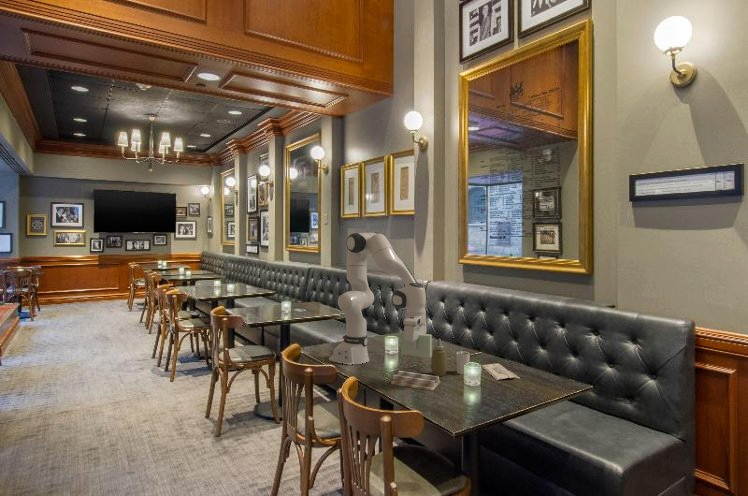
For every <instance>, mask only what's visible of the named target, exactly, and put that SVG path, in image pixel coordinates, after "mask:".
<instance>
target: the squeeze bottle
mask: <svg viewBox="0 0 748 496" xmlns="http://www.w3.org/2000/svg"><path fill="white" fill-rule="evenodd" d="M430 368H431V372H432V374H433V375H432V376H439V377H444V376H445V375H446V372H447V371H448V361H447V351H446V350H445V346H444V345H443V344H442V340H441V338H438V339H437V343H436V344H435V345H434V349H432V356H431V364H430Z"/></svg>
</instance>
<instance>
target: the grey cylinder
mask: <svg viewBox="0 0 748 496" xmlns="http://www.w3.org/2000/svg"><path fill="white" fill-rule="evenodd" d="M470 357H471V356H470V352H468V351H456V354H455V358H456V373H457V374H458V375H462V376H463V374H464V365H465V364H466V363H469V364H470V359H471V358H470Z"/></svg>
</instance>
